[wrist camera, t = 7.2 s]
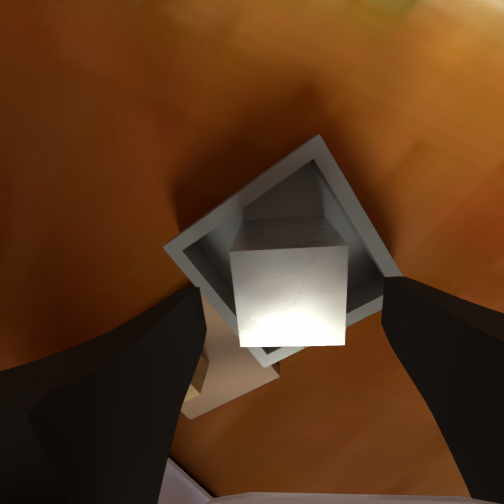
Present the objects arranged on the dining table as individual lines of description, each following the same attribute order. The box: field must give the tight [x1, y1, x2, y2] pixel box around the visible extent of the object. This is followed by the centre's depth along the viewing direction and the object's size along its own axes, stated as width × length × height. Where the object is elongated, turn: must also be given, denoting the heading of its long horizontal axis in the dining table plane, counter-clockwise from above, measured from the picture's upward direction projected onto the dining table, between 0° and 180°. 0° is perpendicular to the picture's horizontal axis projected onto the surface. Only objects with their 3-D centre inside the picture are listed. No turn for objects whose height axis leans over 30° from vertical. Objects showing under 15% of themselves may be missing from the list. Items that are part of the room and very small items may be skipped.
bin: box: [163, 134, 402, 368], centre depth 15 cm, size 9×9×3 cm
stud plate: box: [181, 294, 280, 420], centre depth 18 cm, size 8×8×3 cm
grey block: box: [229, 215, 349, 347], centre depth 13 cm, size 4×4×5 cm
